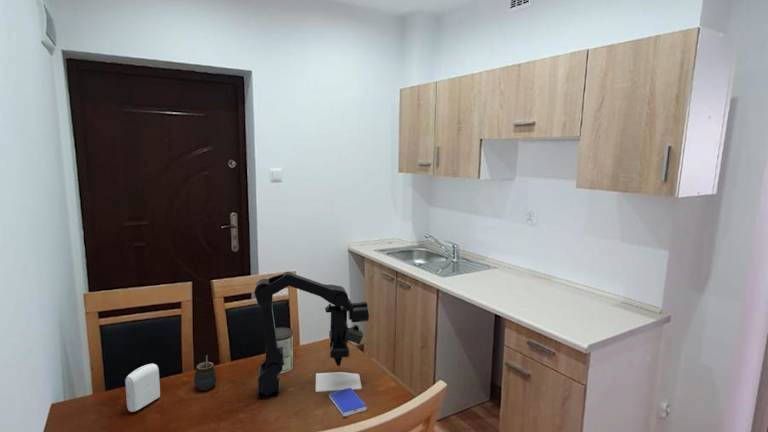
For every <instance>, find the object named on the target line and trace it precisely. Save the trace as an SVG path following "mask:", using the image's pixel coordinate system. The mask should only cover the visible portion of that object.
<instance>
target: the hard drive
mask: <svg viewBox="0 0 768 432" xmlns="http://www.w3.org/2000/svg"><path fill="white" fill-rule="evenodd" d="M328 397H329V399H330V400H331V401H332V402H333V404H334V405H335V406H336V409H337V410H338V411H339V412H340V413H341V415H342V416H343V417H347V416H351V415H355V414H357V413H360V412H365V411H366V410H367V408H368V406H367V404H366V403H365V402H364V401H363V400H362V399H361V398H360V397H359V395H358V394H357V393H356V392H355V391H354V390H353V389H352V388H347V389H343V390H339V391H331V392H329V394H328Z"/></svg>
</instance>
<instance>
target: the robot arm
mask: <svg viewBox="0 0 768 432" xmlns="http://www.w3.org/2000/svg"><path fill="white" fill-rule="evenodd" d="M287 287H291V288H294V289H297V290H300V291H303V292H306V293H309V294H311V295H314V296H317V297H320V298H322V299H324V301H326V302H327V303H329V304H328V305H327V306H326V307H325V308H324V310H325V313H327V314H328V313H330V324H329V325H330V326H329V327H330V330H329V331H328V332H329V335H328V336H329V337H328V338H329V340H330V342H329V352H330V353H329V354H330V355H329V356H330V358H332V359H334V363H335V364H336V367H340V366H341V364H342V360H343V358H349V357H350V349H349V346H348V343H349V342H352V343H356V344H357V345H360V344H361V343H362V340H363V337H364V333H363V332H362V330H361V329H359V325H357V324H354V325H353V326H352V327H348V320H350V321H351V323H363V322H369V319H370V314H369V309H368V303H367V301H362V302H352V301H351V299H349V296H348V293H347V291H346V289H345V287H343V286H341V285H337V284H336V285H335V284H326V283H324V284H323V283H321V282H318V281H315V280H313V279H309V278H306V277H304V276H300V275H298V274H295V273H293V272H292V271H285V272H283V273H281V274H278V275H275V276H272V277H270V278H261V279H260V280H258V281H257V282H256V284H255V288H254V296H255V299H256V302H257V306H258V307H259V309H260V313H261V320H262V328H263V335H264V342H265V344H264V345H265V360H264V361H263V362H262V363H261V364H260V365H259V371H258V378H257V384H258V386H257V388H258V389H257V392H258V394H257V397H256V398H257V399H271V398H277V397H278V394H279V393H280V390H281V378H280V377H279V374H281V373H280V372H281V371H282V368H283V365H284V361H285V356H284V355H283V346H282V347H280V348H279V346H278V344H277V338H276V331H275V328H276V324H275V317H274V310H273V301H274V300H273V298H274V296H273V295H275V294H277V293H279V292H281V291H282V290H283V289H285V288H287Z"/></svg>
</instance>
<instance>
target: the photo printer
mask: <svg viewBox="0 0 768 432" xmlns="http://www.w3.org/2000/svg"><path fill="white" fill-rule="evenodd" d="M124 383H125V395H126V398H125V399H126V408H127V410H128V411H129V412H131V413H134V412H137V411H139V410H141V409H142V408H144V407H146V406H147V405H149V404H151V403H152V402H155V400H158V398H160V396H161V384H160V369H159V366H158V365H157V364H155V363H149V364H148V363H147V364H145V365H142V366H140V367H138V368H136V369H134V370H133V371H132V372H130V373H129V374H128V375H127V376H126V378H125V379H124Z"/></svg>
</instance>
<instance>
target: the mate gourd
mask: <svg viewBox="0 0 768 432" xmlns="http://www.w3.org/2000/svg"><path fill="white" fill-rule="evenodd" d="M208 356H209V354H206V355H205V361H204V362H201V363H198V364H197V365H196V371H195V373H194V374H195V375H194V378H193V383H194V386H195V388H196V389H199V390H200V391H207V390H210V389H211V388H213V387H214V385H216V382H217V374H216V370H215V366H214V363H213V362H210V361H208V358H209V357H208Z"/></svg>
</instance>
